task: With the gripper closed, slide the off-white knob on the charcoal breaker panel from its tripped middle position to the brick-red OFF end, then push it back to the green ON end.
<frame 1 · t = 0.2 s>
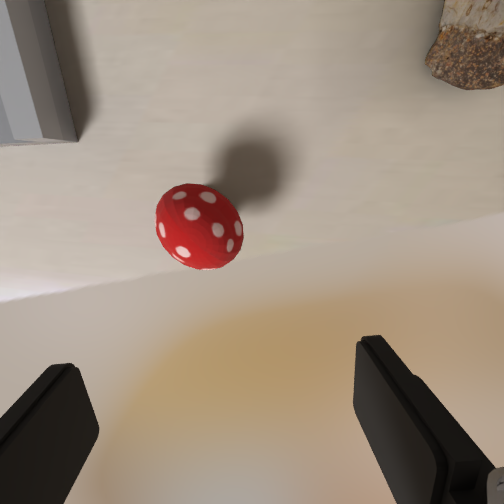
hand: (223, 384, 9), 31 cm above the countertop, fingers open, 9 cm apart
decorative mushroom: (210, 211, 38), on the countertop
rock: (456, 32, 33), on the countertop
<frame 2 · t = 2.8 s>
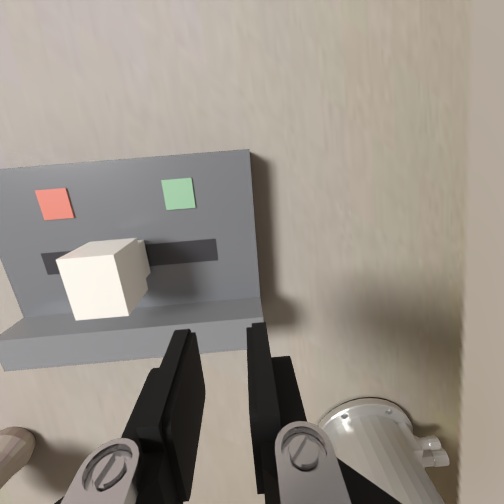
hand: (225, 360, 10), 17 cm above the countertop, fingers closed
decorative mushroom: (15, 441, 34), on the countertop
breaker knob: (114, 271, 20), point 6 cm above the countertop, slide at 5.0 cm
breaker panel: (142, 246, 26), on the countertop
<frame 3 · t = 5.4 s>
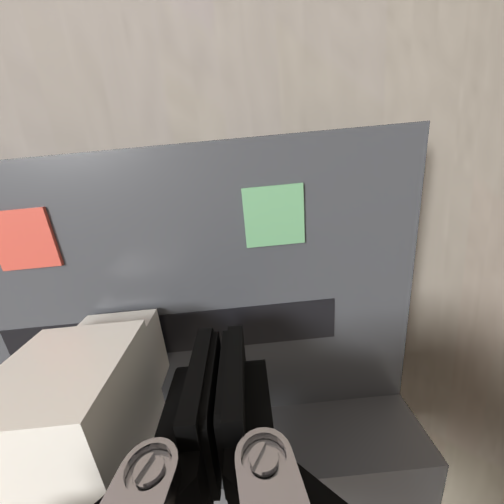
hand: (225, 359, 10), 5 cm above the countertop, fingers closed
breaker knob: (95, 396, 9), point 6 cm above the countertop, slide at 6.8 cm, touching gripper
breaker panel: (185, 301, 15), on the countertop
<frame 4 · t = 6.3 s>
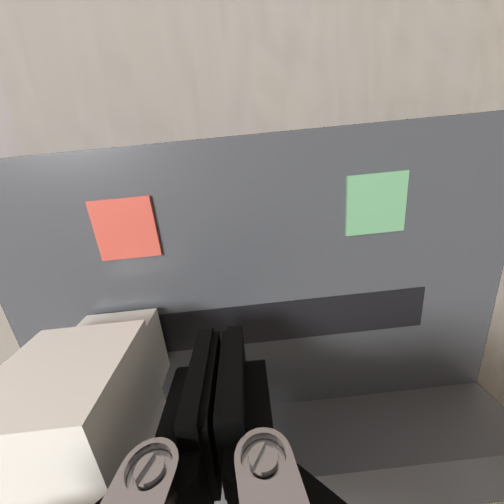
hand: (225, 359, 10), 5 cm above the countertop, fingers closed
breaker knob: (96, 396, 9), point 6 cm above the countertop, slide at 10.9 cm, touching gripper
breaker panel: (257, 292, 15), on the countertop
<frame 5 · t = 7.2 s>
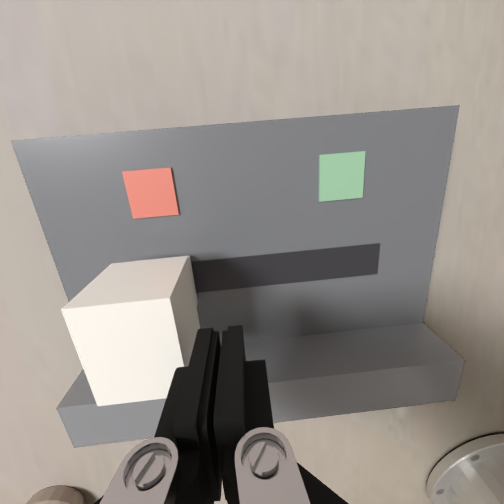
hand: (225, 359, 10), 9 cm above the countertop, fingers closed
decorative mushroom: (57, 501, 26), on the countertop
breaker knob: (153, 310, 13), point 6 cm above the countertop, slide at 10.1 cm
breaker panel: (251, 253, 19), on the countertop
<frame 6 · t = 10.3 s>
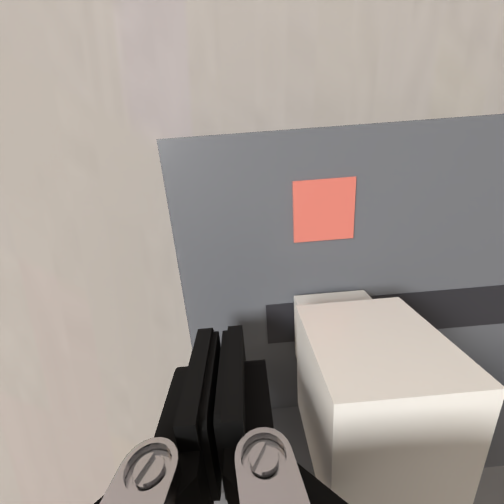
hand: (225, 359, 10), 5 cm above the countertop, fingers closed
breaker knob: (355, 373, 9), point 6 cm above the countertop, slide at 9.8 cm, touching gripper
breaker panel: (394, 282, 15), on the countertop
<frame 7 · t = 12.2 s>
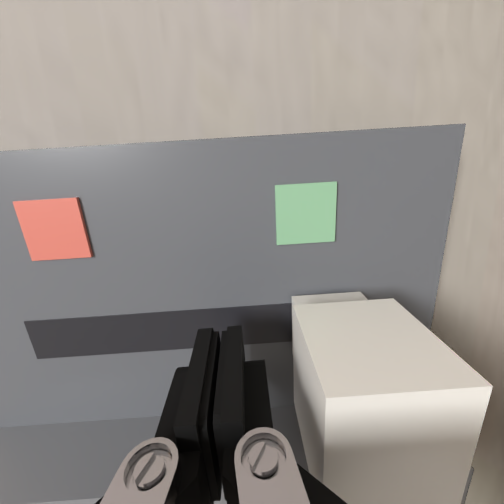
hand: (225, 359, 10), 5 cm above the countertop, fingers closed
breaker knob: (350, 372, 9), point 6 cm above the countertop, slide at -0.9 cm, touching gripper
breaker panel: (205, 298, 15), on the countertop
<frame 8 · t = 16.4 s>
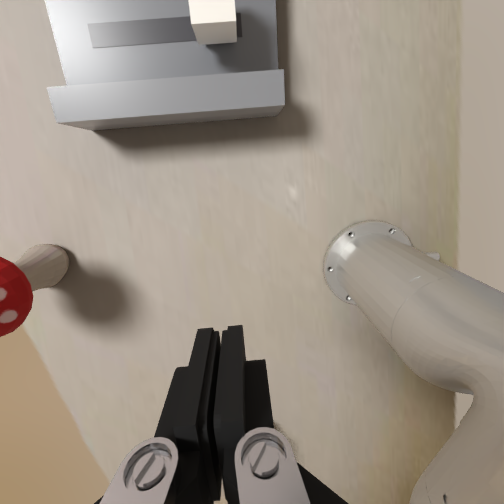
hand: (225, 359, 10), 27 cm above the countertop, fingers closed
decorative mushroom: (50, 262, 37), on the countertop
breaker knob: (213, 8, 24), point 6 cm above the countertop, slide at -0.1 cm
breaker panel: (173, 43, 30), on the countertop
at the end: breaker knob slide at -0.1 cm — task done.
